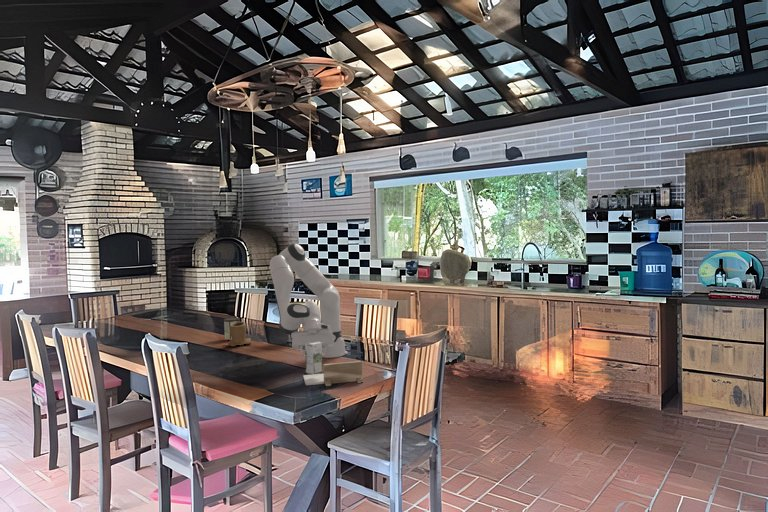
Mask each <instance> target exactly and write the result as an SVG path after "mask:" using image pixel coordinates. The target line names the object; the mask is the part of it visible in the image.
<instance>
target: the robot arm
mask: <svg viewBox="0 0 768 512" xmlns="http://www.w3.org/2000/svg"><path fill="white" fill-rule="evenodd" d="M269 271H270V276H271V279H272V282H273V287H274V293H275V298H276V305H277V309H278V315H279V322H278V327H279V329H280V331H281V332H282V333H283V334H285V335H288V336H289V335H290V338H291V340H292V343H291V348H292V349H293V350H299V351H300V352H301V355H302V357H305V343H308V342H313V341H318V342H321V343H322V358H327V359H328V358H331V359H332V358H339V357H343V356H345V355H348V354H349V353H348V351H347V350H346V344H345V339H344V338H342V335H343V334H342V330H341V297H340V292H339V290H338V289H337V288H336V287H335V286H334V285H333V284H332V283H331V282H330V281H329V279H328V278H326V277H325V276H324V274H323V273H322V272H321V271H320V270H319V268H318V267H317V266H316V265H315V264H314V263H313V262H312V261H311V260H310V259H309V258H307V257H306V251H305V249H304V247H303V246H301V245H300V244H299V243H291V244H289V245H288V246H287V247H286V248H285V249H283V250H282V251H280V253H279V254H278V255H274V256H273V257H271V259H270V261H269ZM293 271H294V273H295V274H296V276H297V277H298V278H299V279H300V280H301V282H303V284H304V285H305V286H306V287H307V288H308V289H309V291H311V292H312V293H313V294H314V295H315V296H316V297H317V298H318V299H319V300H320V301H319V303H320V305H319V304H318V303H316V302H315V301H312V300H307V301H304V302H305V303H303V304H297V303H293V304H290V302H291V301H290V299H291V294H292V290H293V287H294V284H295V278H294V273H293ZM319 306H320V307H319ZM301 325H302V329H303V330H299V329H300V327H301Z"/></svg>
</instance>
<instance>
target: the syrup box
mask: <svg viewBox="0 0 768 512" xmlns="http://www.w3.org/2000/svg"><path fill="white" fill-rule="evenodd" d="M304 351H305V356H304V357H305V373H306V374H309V375H312V374H321V373H323V357H322V343H321V342H318V341H313V342H308V343H305V348H304Z"/></svg>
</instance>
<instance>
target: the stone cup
mask: <svg viewBox="0 0 768 512" xmlns="http://www.w3.org/2000/svg"><path fill="white" fill-rule="evenodd" d="M247 328H248V327H247V324H246V322H244V321H240V322H236V323H232V324H231V325H230V328H229V329H230V335H231V337H232V341H228V342H227V346H229V345H230V347H237V346H236V345H240V346H245V345H244V344H246V345H250V343H251V344H252V339H251V337H249V338H248V337H247V338H246V334H247Z"/></svg>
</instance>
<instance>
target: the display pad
mask: <svg viewBox="0 0 768 512" xmlns="http://www.w3.org/2000/svg"><path fill="white" fill-rule="evenodd" d="M302 378H303V380H304V384H305V386H313V385H315V386H316V385H325V384H324V373H316V374H305V375H304V374H303V377H302Z"/></svg>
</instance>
